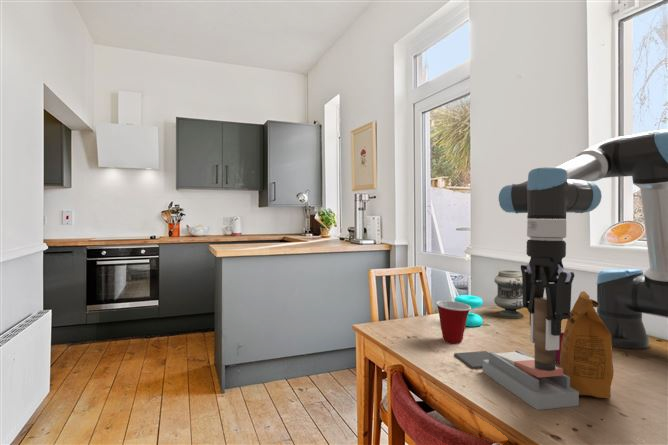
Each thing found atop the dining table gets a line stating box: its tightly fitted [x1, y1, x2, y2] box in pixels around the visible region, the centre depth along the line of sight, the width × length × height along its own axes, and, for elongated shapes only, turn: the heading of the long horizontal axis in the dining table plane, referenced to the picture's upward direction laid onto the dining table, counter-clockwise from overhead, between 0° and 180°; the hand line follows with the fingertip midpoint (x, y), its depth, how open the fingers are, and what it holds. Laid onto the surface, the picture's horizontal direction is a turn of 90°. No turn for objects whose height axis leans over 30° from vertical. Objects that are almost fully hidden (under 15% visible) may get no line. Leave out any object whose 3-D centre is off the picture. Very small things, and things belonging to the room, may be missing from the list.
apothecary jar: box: [493, 269, 525, 319], centre depth 155 cm, size 12×12×18 cm
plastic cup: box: [435, 300, 472, 344], centre depth 124 cm, size 11×11×12 cm
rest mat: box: [453, 350, 489, 370], centre depth 107 cm, size 10×10×1 cm
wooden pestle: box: [533, 296, 556, 371], centre depth 84 cm, size 4×4×15 cm
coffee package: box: [559, 291, 614, 399], centre depth 89 cm, size 10×12×22 cm
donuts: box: [453, 294, 484, 328], centre depth 143 cm, size 10×10×10 cm
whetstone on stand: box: [482, 349, 580, 411], centre depth 90 cm, size 10×20×6 cm, turn 11°
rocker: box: [493, 351, 563, 378], centre depth 90 cm, size 16×6×1 cm, turn 11°
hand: (544, 345), depth 84 cm, fingers closed on wooden pestle, 4 cm apart
